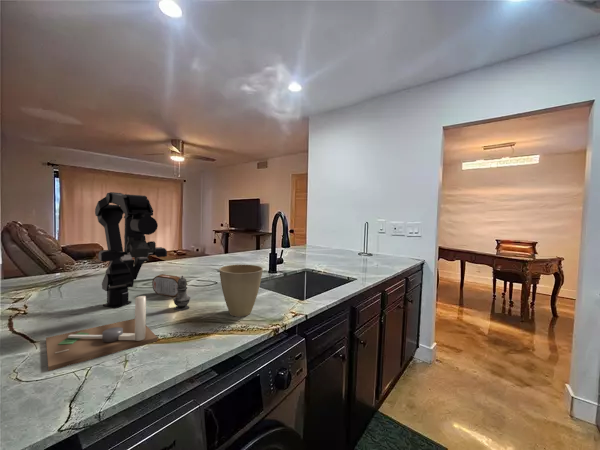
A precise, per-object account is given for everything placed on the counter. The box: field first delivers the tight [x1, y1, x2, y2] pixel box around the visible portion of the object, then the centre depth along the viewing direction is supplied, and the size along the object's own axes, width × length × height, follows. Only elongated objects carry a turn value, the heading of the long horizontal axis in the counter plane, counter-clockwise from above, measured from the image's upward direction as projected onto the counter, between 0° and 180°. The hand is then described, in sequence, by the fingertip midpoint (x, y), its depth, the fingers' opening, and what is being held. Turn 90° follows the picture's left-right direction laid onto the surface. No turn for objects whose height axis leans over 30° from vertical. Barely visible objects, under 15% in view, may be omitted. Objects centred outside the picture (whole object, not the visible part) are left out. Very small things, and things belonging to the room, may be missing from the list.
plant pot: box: [219, 264, 264, 318], centre depth 95 cm, size 15×15×16 cm
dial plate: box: [45, 318, 158, 372], centre depth 72 cm, size 22×18×1 cm
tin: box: [151, 273, 181, 298], centre depth 113 cm, size 15×3×8 cm, turn 71°
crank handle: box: [68, 295, 147, 342], centre depth 70 cm, size 19×4×11 cm, turn 92°
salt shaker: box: [172, 275, 191, 312], centre depth 98 cm, size 6×6×12 cm
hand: (134, 279), depth 90 cm, fingers closed
